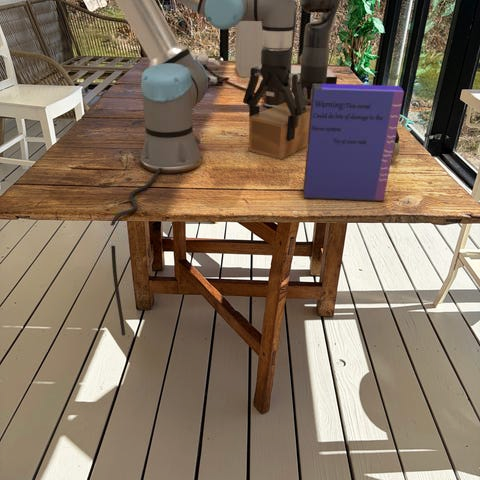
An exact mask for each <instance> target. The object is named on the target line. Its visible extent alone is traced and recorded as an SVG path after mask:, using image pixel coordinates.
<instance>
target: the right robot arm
mask: <svg viewBox="0 0 480 480" xmlns="http://www.w3.org/2000/svg"><path fill="white" fill-rule="evenodd" d="M299 3H300V6H301V8H302V10H303V11H304V12H305V13H308V14H316V13H319V14H321V13H322V14H321V15H320V17H319V19H317V20H315V21H311V22H308V23H307V24H306V25H305V27H304V35H303V47H302V51H301V55H302V58H301V65H300V66H301V86H302V91H303V96H304V101H305V105H307V106H311V98H312V87H313V84H326V78H327V68H329V67H328V66H329V57H330V39H331V30H332V27H333V24H334V21H335V18H336V15H337V13H338V9H339V7H340V4H341V0H299ZM297 13H298V12H297V7H296V6H295V11H294V24H293V38H292V47H291V48H289V49H291V51H292V52H293V51H294V47H295V35H296V27H297V17H298V16H297ZM261 24H262V21H261ZM292 64H293V55H292V56H291V65H290V71H291V66H293V65H292ZM203 67H204V68H205V69H207V70H208V72H210V73H211V74H212V75H214V76H217V75H218V74H216V72H214V71H213V70H212V69H210V68H209V67H208V66H207V65H203ZM218 77H220V76H219V75H218ZM290 80H291V79H290V78H289V80H288V82H289V84H290ZM224 83H227V84H229V85H231V86H233V87H236V88H238V89H241V90H244V91H246V90H247V87H246V88H245V87H243V86H240V85H237V84H236V83H233V82H231V81H229V80H228V81H225V82H224ZM290 85H291V84H290ZM284 87H285V86H284ZM291 92H292V94H293V90H292V89H291ZM255 93H256V92H254V94H255ZM293 96H294V94H293ZM261 99H263V101H262V105H263V107H265V108H268V109H270V108H273V107H275V106H278V105H280V104H283V103H285V102H286V101H285V99H284V97H283V95H282V92H280V90H279V88H274V87H268V88H267V89H266V91H265V93H264V94H263V96H262V97H261Z"/></svg>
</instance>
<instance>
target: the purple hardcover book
mask: <svg viewBox="0 0 480 480" xmlns="http://www.w3.org/2000/svg"><path fill="white" fill-rule="evenodd" d="M404 94H405V91H404V90H403V88H402V87H401V86H399V85H380V84H379V85H377V84H376V85H375V84H344V83H343V84H341V83H336V84H313V87H312V98H311V109H310V120H309V131H308V142H307V146H306V153H305V154H306V155H305V165H304V177H303V188H302V189H303V190H302V191H303V197H304V199H317V200H343V201H344V200H345V201H346V200H347V201H366V202H367V201H368V202H369V201H370V202H384V201H385V195H386V190H387V184H388V178H389V174H390V168H391V164H392V158H393V156H392V153H393V148H394V142H395V137H396V132H398V126H399V120H400V115H401V111H402V104H403V100H404V99H403V98H404Z"/></svg>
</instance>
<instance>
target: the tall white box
mask: <svg viewBox="0 0 480 480" xmlns="http://www.w3.org/2000/svg"><path fill="white" fill-rule="evenodd" d="M261 43H262V24H261V21H240V22H239V23H238V24H237V25H236V26H235V59H234V60H235V62H234V63H235V65H234V66H235V68H234V69H235V71H236V73H237V75H238V77H239V78H250V73H251V68H253V67H257V66H258V67H259V68H261V67H262V64H261V50H262V49H263V48H264V47H262V46H261ZM260 76H262V75H261V74H260Z"/></svg>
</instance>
